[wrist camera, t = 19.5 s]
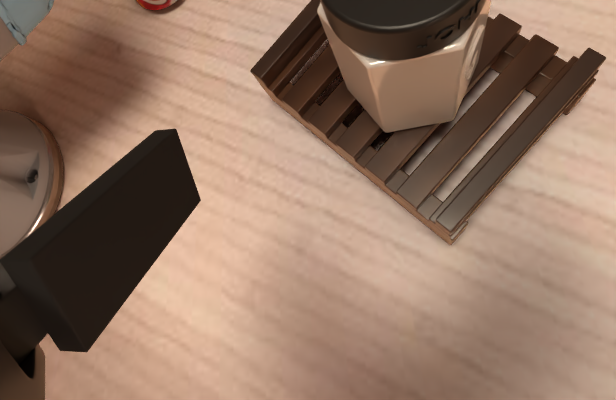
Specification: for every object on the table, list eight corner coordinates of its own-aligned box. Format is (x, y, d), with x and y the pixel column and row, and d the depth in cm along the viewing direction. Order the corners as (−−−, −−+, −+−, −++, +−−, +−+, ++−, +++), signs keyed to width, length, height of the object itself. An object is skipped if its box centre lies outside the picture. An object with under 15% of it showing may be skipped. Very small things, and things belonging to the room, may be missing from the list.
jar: (443, 153, 29) (453, 62, 18) (333, 116, 32) (280, 16, 20) (493, 34, 30) (533, -127, 18) (381, 7, 32) (356, -147, 21)
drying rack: (271, 99, 38) (246, 68, 33) (379, -25, 37) (371, -76, 32) (450, 245, 31) (454, 235, 26) (581, 98, 31) (612, 59, 26)
